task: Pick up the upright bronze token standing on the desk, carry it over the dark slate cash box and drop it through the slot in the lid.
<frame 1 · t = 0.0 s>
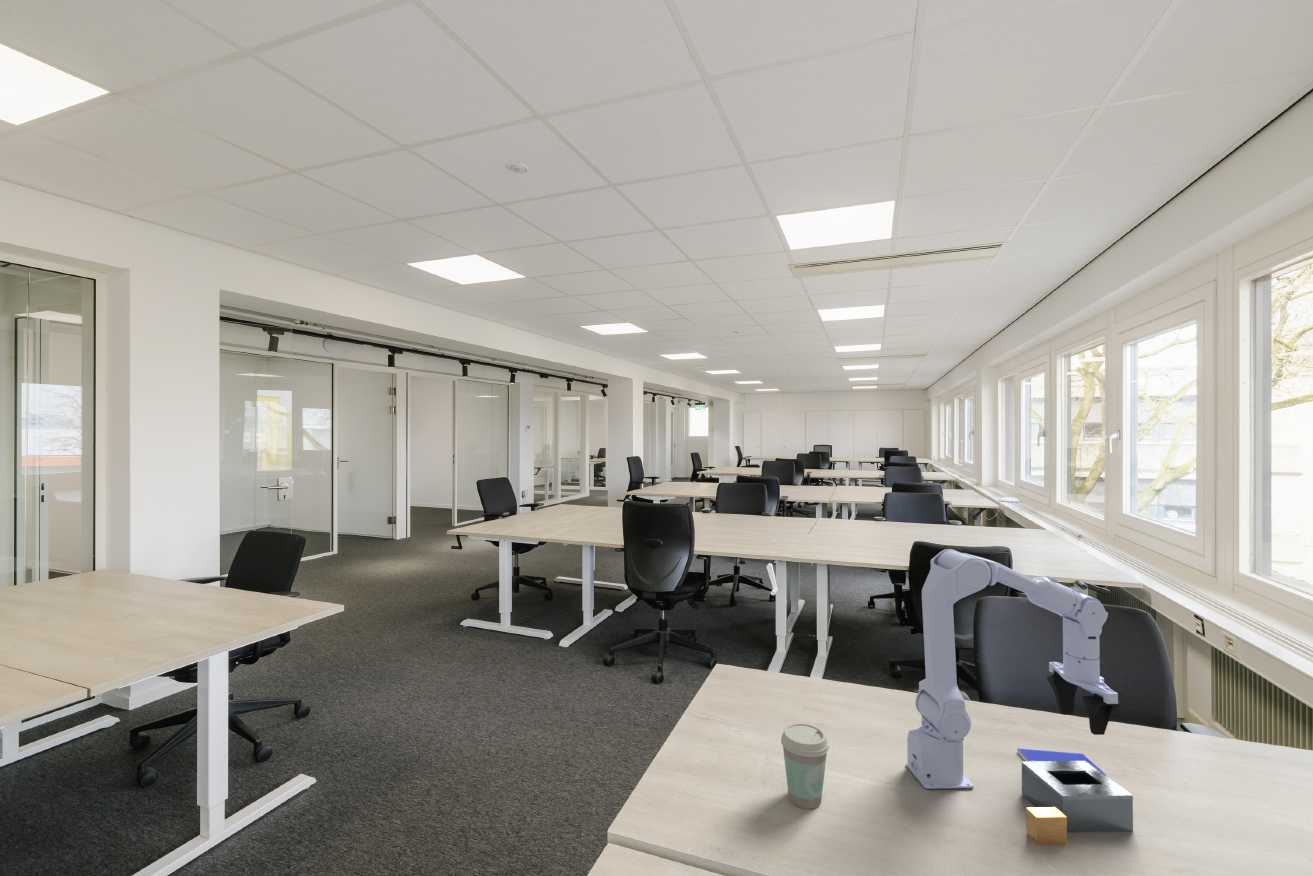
hand: (1081, 723, 107), 10 cm above the table, fingers open, 7 cm apart
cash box: (1074, 811, 96), on the table
coffee cup: (804, 799, 100), on the table
token: (1046, 839, 90), on the table
hard drive: (1060, 769, 110), on the table
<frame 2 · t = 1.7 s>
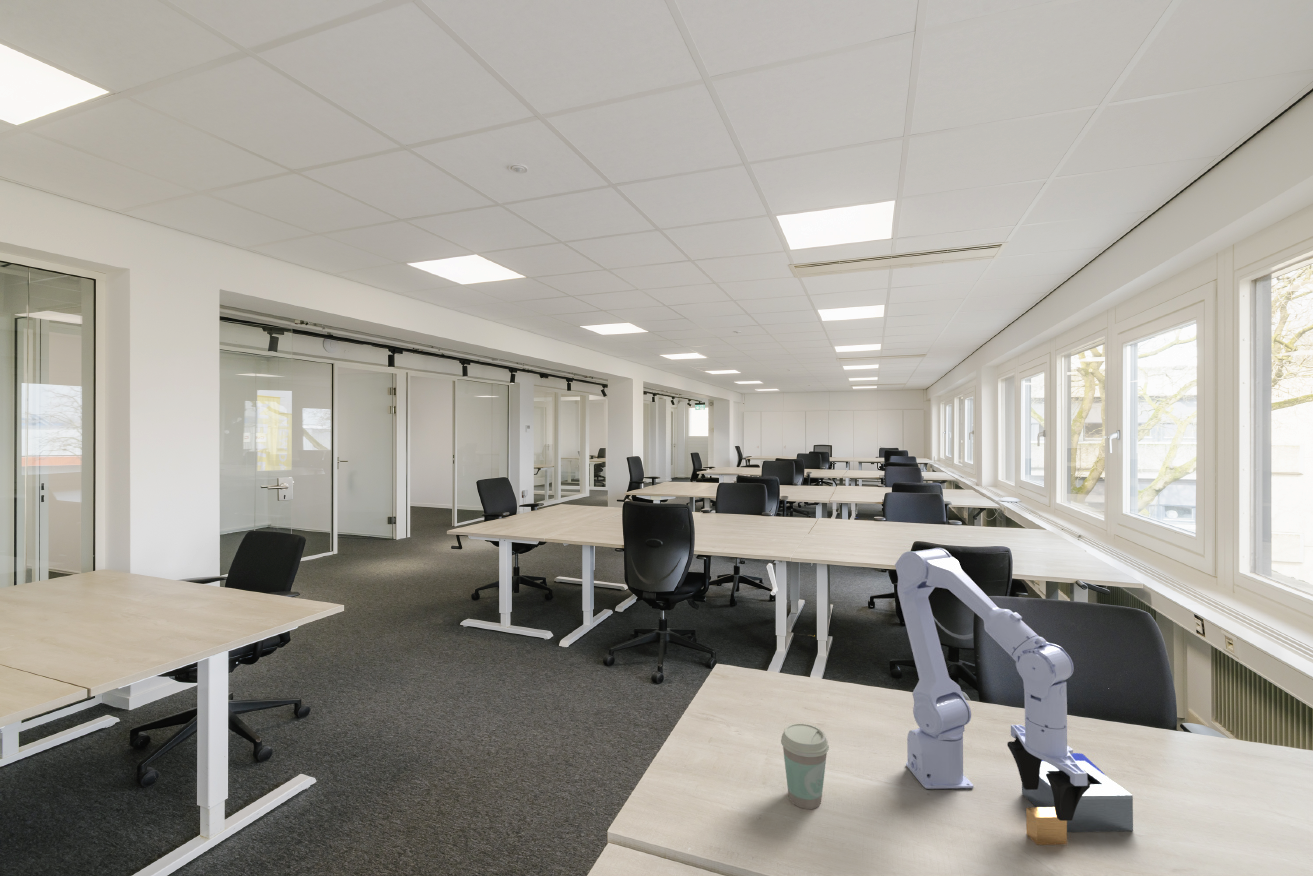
hand: (1046, 803, 90), 6 cm above the table, fingers open, 7 cm apart
nothing on the table moved.
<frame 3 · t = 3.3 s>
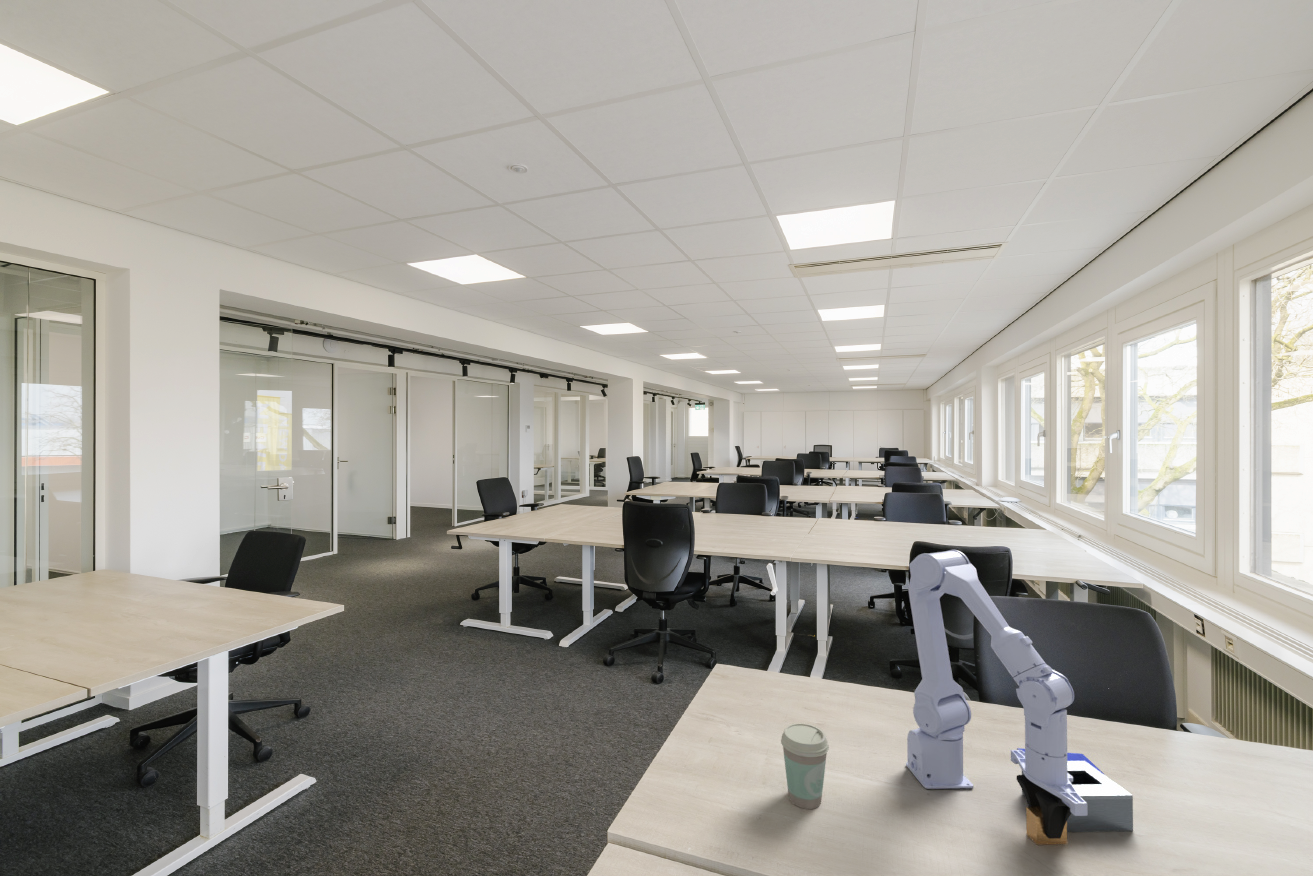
hand: (1046, 830, 90), 1 cm above the table, fingers closed on token, 2 cm apart
token: (1046, 839, 90), on the table, touching gripper
everything else where it was.
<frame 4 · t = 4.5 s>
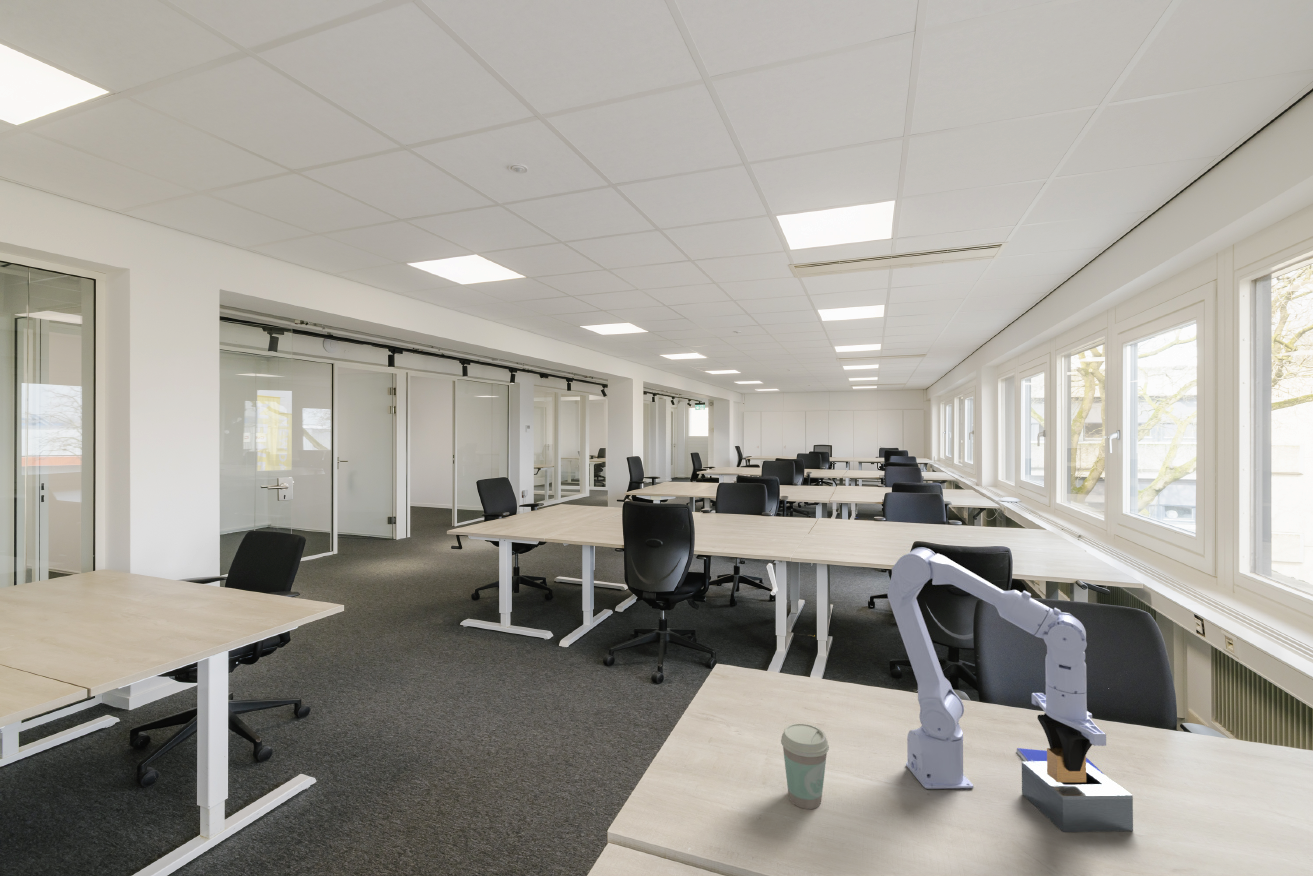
hand: (1066, 765, 94), 9 cm above the table, fingers closed on token, 2 cm apart
token: (1066, 778, 94), point 7 cm above the table, touching gripper
everything else where it was.
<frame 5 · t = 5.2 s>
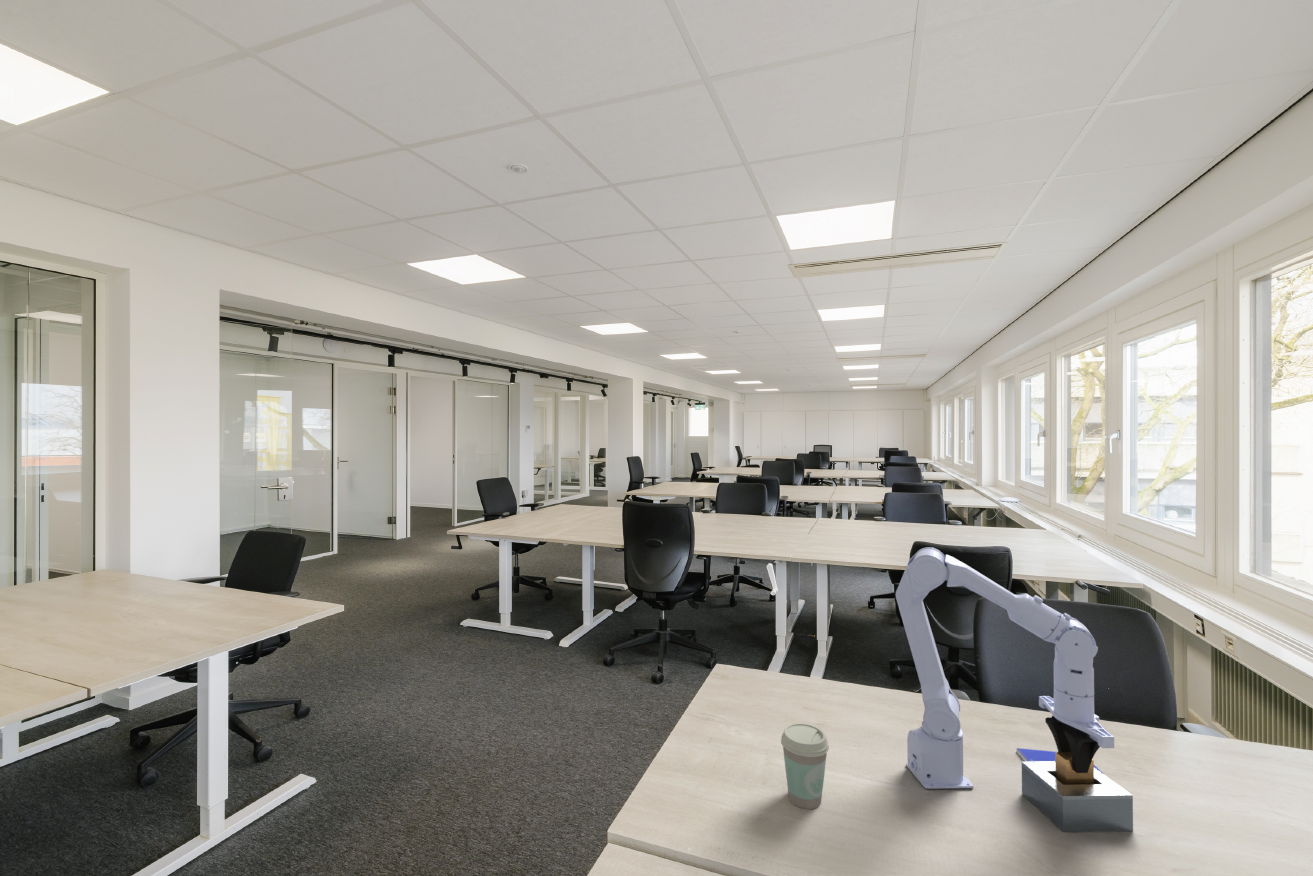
hand: (1074, 766, 96), 8 cm above the table, fingers closed on token, 2 cm apart
token: (1074, 781, 96), point 5 cm above the table, touching gripper
everything else where it was.
when the fingers open (8 cm above the table, at t = 5.7 s): token drops 5 cm, resting on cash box.
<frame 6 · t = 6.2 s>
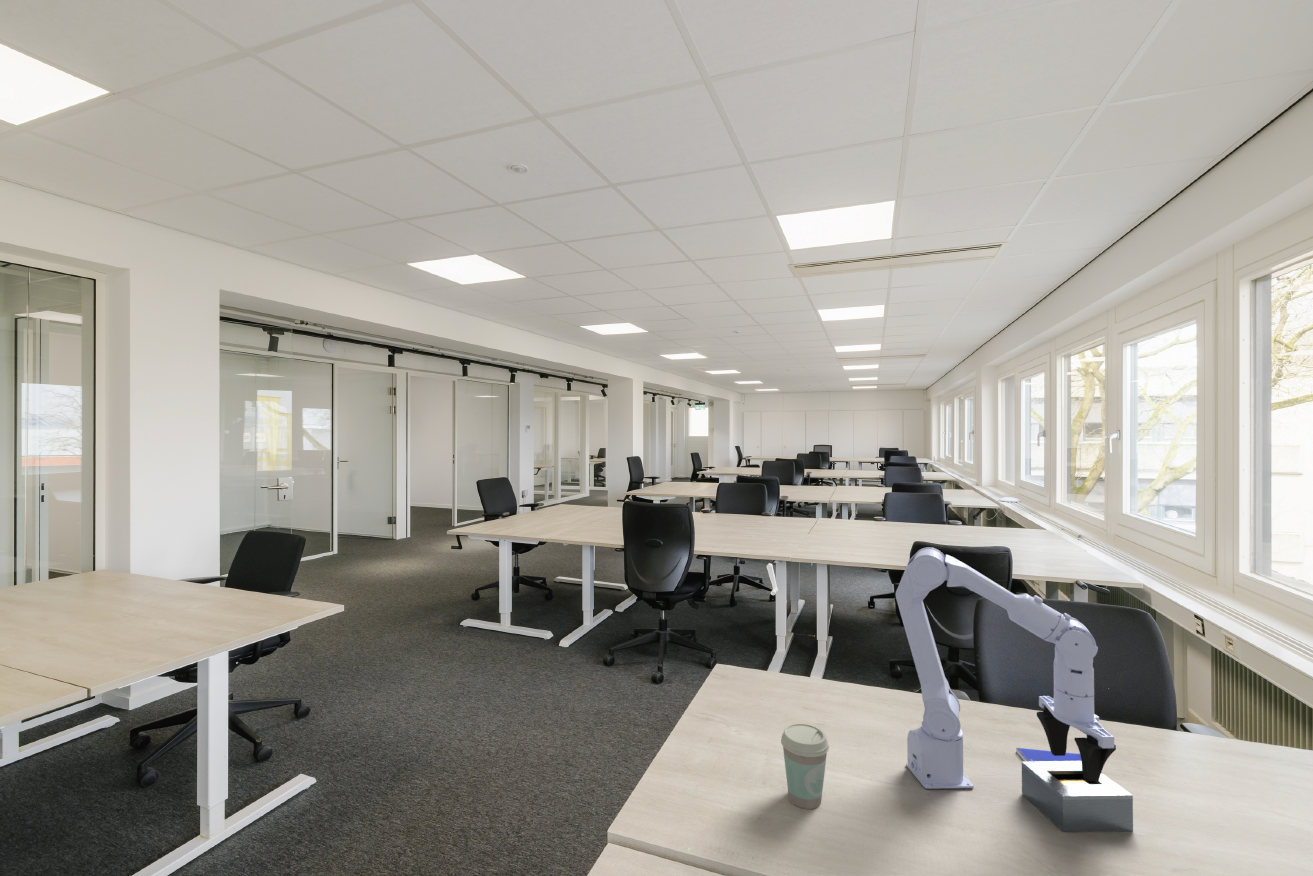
hand: (1074, 766, 96), 8 cm above the table, fingers open, 7 cm apart
token: (1075, 809, 96), resting on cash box
everything else where it was.
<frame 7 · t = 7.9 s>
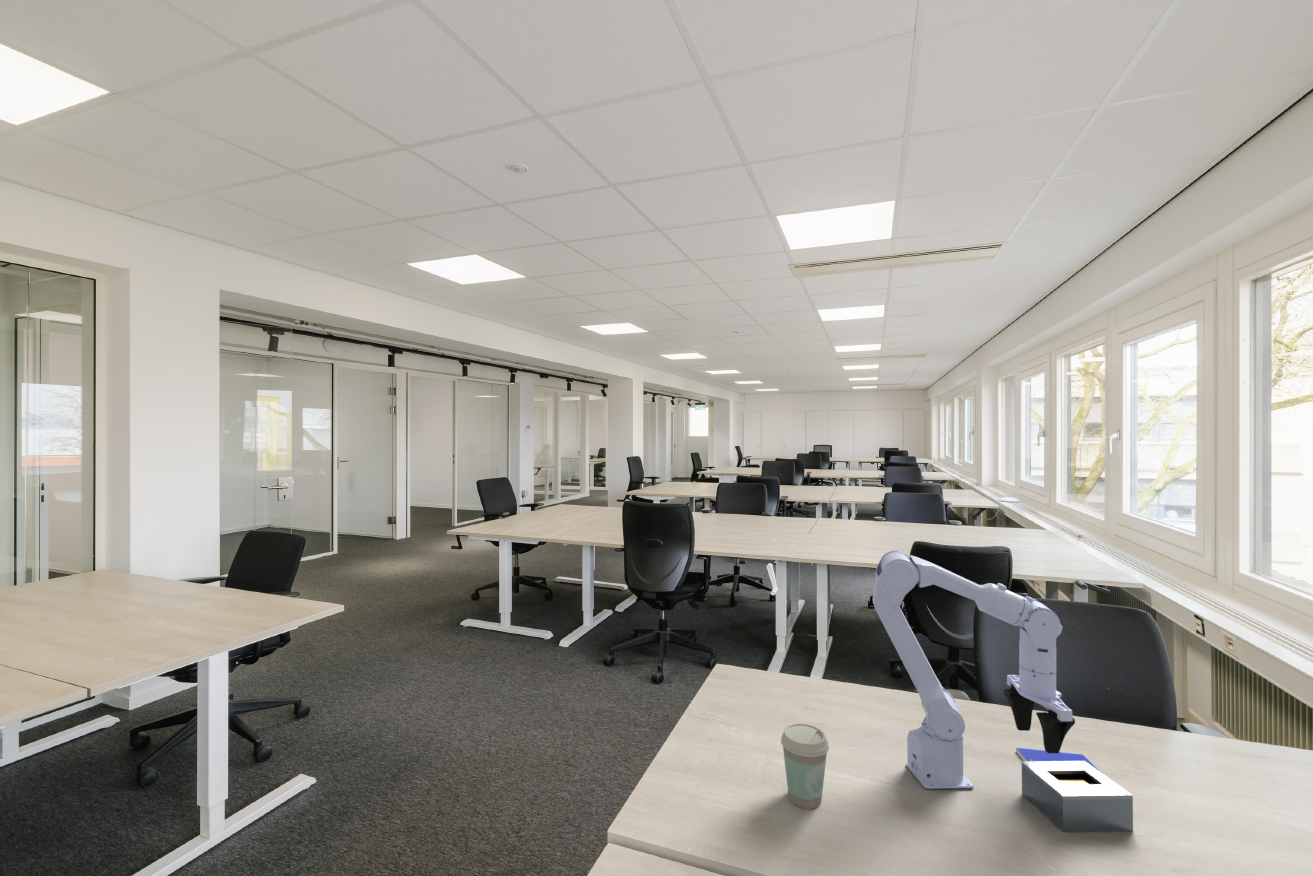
hand: (1037, 740, 101), 10 cm above the table, fingers open, 7 cm apart
nothing on the table moved.
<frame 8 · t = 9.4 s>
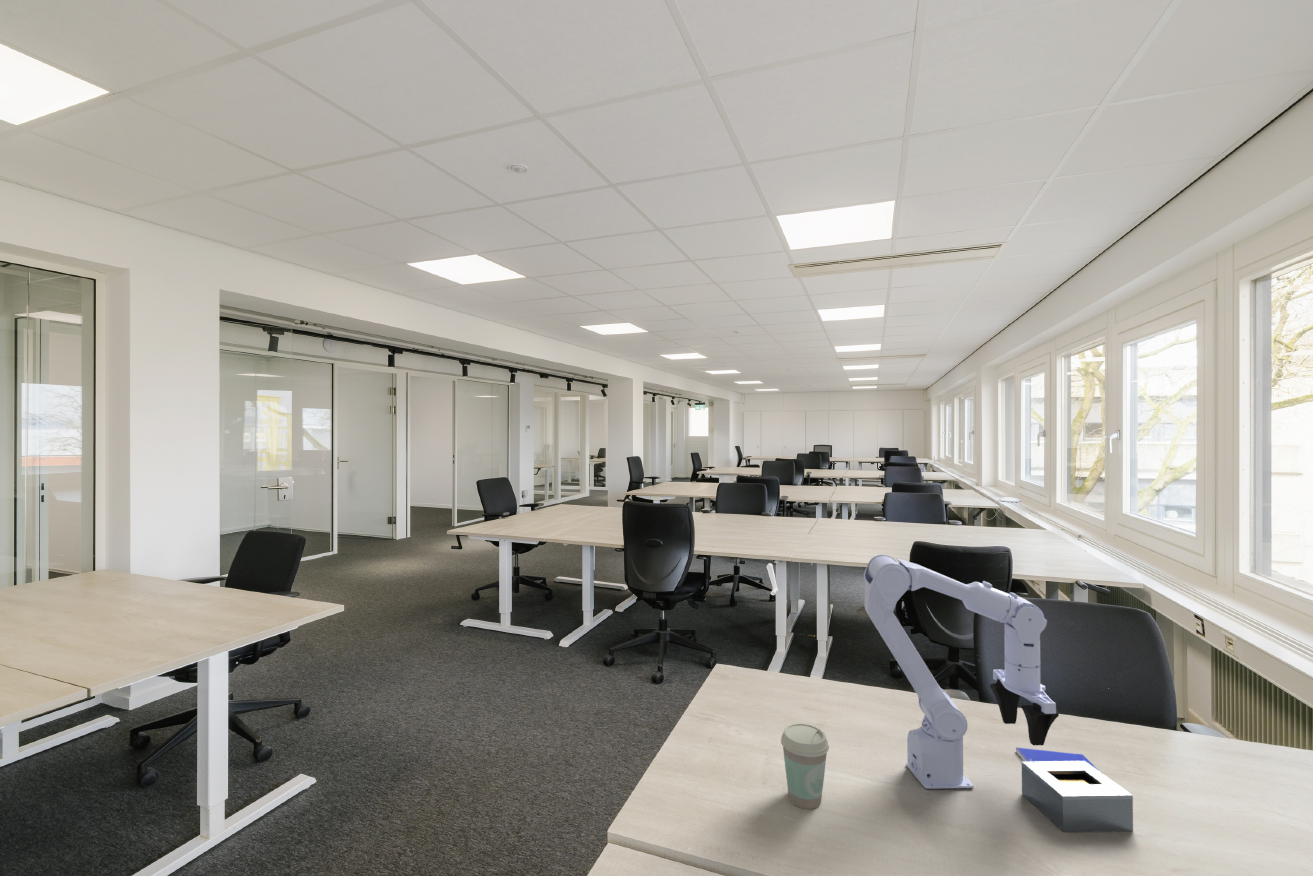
hand: (1022, 733, 104), 10 cm above the table, fingers open, 7 cm apart
nothing on the table moved.
at the end: token inside the target area on the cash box (0.1 cm from its centre), point 0.4 cm above the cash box's base; the gripper is holding nothing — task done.
